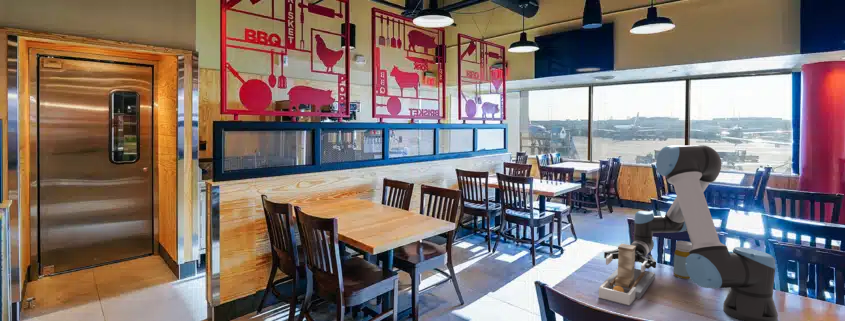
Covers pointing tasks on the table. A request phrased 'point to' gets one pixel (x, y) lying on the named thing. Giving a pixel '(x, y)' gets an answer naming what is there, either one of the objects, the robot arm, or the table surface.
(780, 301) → the table surface
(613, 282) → the lane rails
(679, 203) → the robot arm
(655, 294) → the table surface
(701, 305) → the table surface
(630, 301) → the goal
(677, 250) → the bottle
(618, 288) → the ball
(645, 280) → the platform
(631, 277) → the tan tall block
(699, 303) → the table surface
